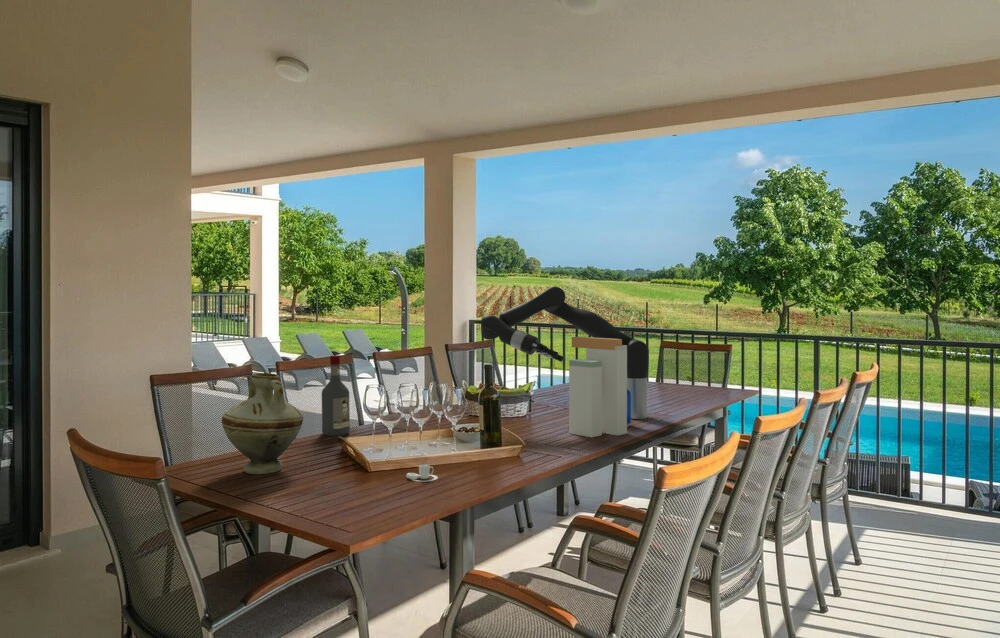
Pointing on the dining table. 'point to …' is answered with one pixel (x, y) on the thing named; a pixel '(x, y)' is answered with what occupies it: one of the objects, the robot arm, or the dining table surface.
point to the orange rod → (596, 343)
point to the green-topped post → (585, 397)
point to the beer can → (628, 406)
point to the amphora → (263, 424)
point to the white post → (613, 388)
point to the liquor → (335, 403)
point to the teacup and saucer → (422, 473)
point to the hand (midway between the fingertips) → (560, 357)
